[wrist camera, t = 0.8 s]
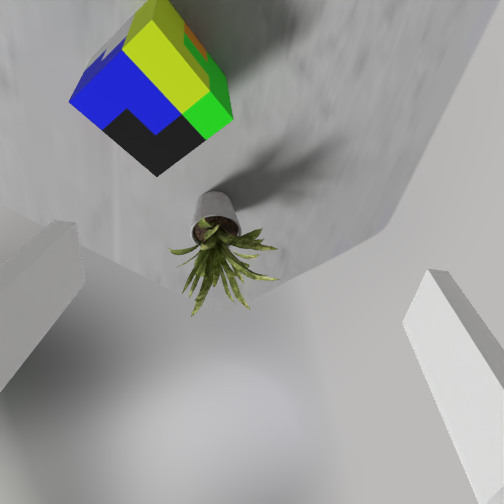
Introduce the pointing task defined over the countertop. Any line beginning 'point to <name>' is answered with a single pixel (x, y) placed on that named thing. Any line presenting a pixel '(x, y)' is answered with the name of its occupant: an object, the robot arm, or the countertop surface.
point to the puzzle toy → (154, 88)
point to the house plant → (219, 246)
